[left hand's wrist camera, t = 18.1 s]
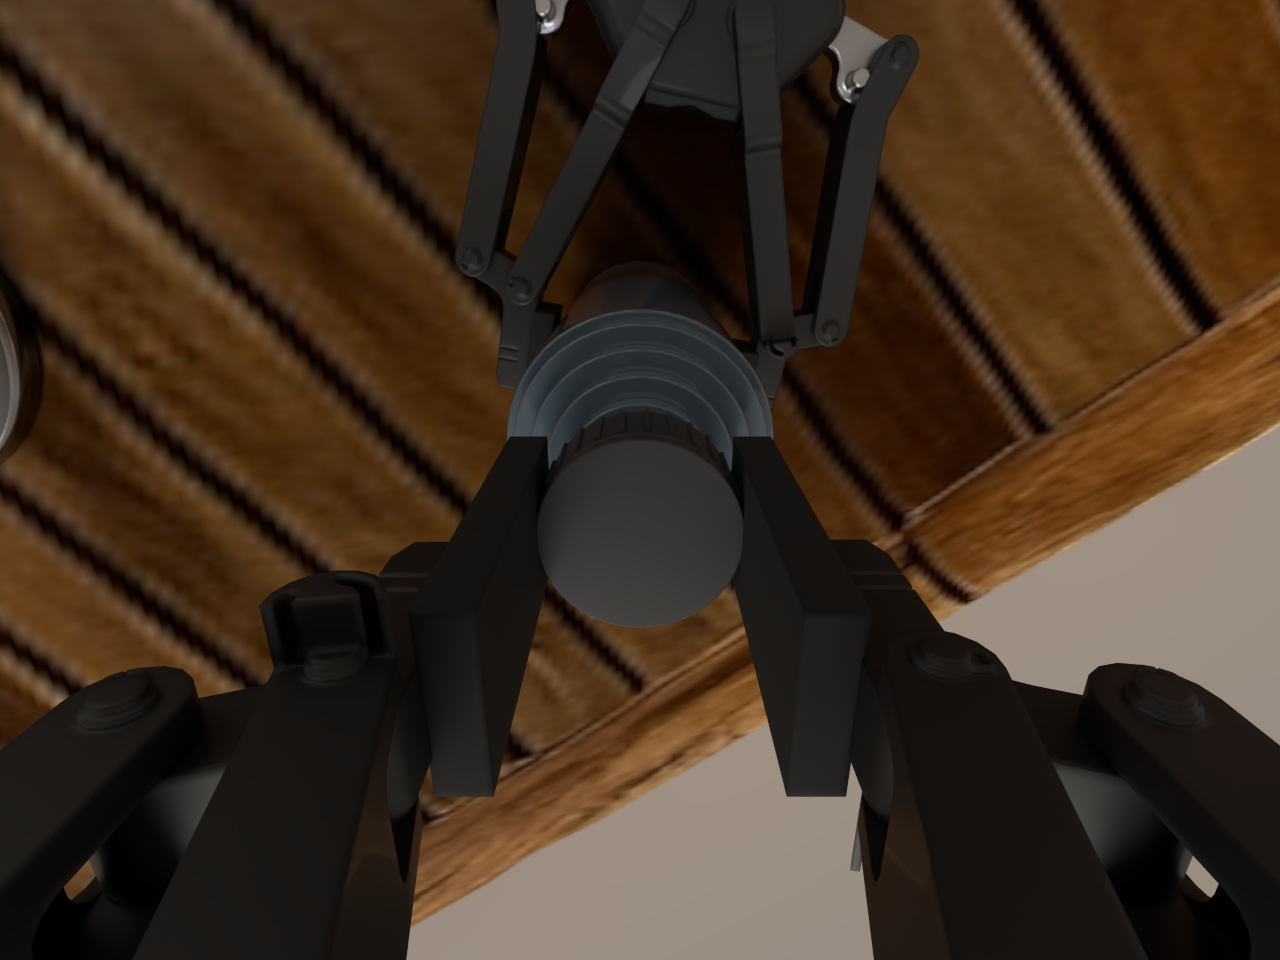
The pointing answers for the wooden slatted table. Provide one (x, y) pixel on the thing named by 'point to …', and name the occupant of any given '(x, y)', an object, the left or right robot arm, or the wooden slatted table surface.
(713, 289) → the wooden slatted table surface
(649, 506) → the cap
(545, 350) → the bottle
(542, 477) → the left robot arm
